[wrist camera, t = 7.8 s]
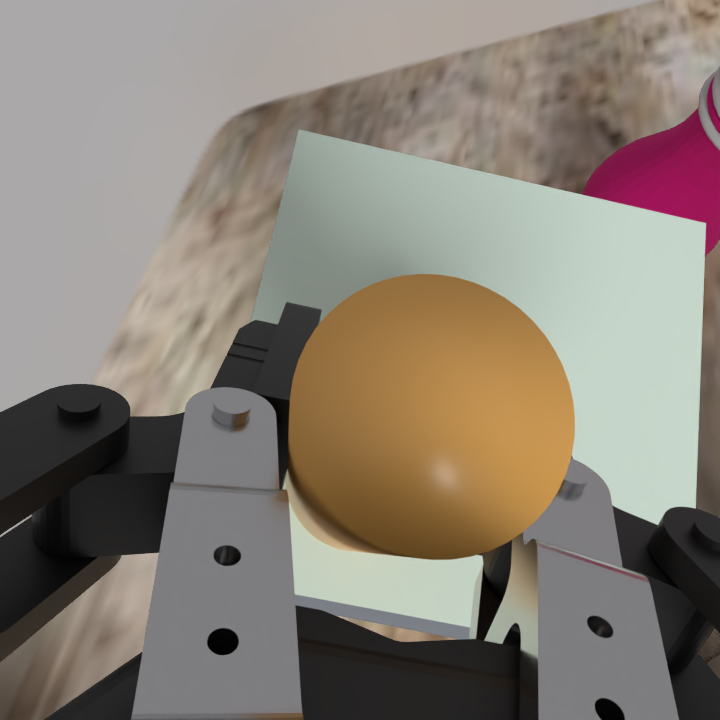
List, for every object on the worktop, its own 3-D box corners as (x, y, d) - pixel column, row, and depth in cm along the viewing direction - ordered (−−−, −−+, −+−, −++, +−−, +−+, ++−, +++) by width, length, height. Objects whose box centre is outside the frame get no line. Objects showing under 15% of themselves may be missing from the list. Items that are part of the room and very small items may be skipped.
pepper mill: (599, 169, 40) (892, -171, 21) (691, 248, 39) (1081, -31, 20) (527, 244, 38) (778, -57, 19) (622, 328, 37) (982, 104, 18)
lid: (669, 251, 20) (1032, -25, 10) (647, 655, 16) (1150, 811, 7) (297, 166, 19) (311, -213, 10) (198, 570, 16) (68, 612, 6)
